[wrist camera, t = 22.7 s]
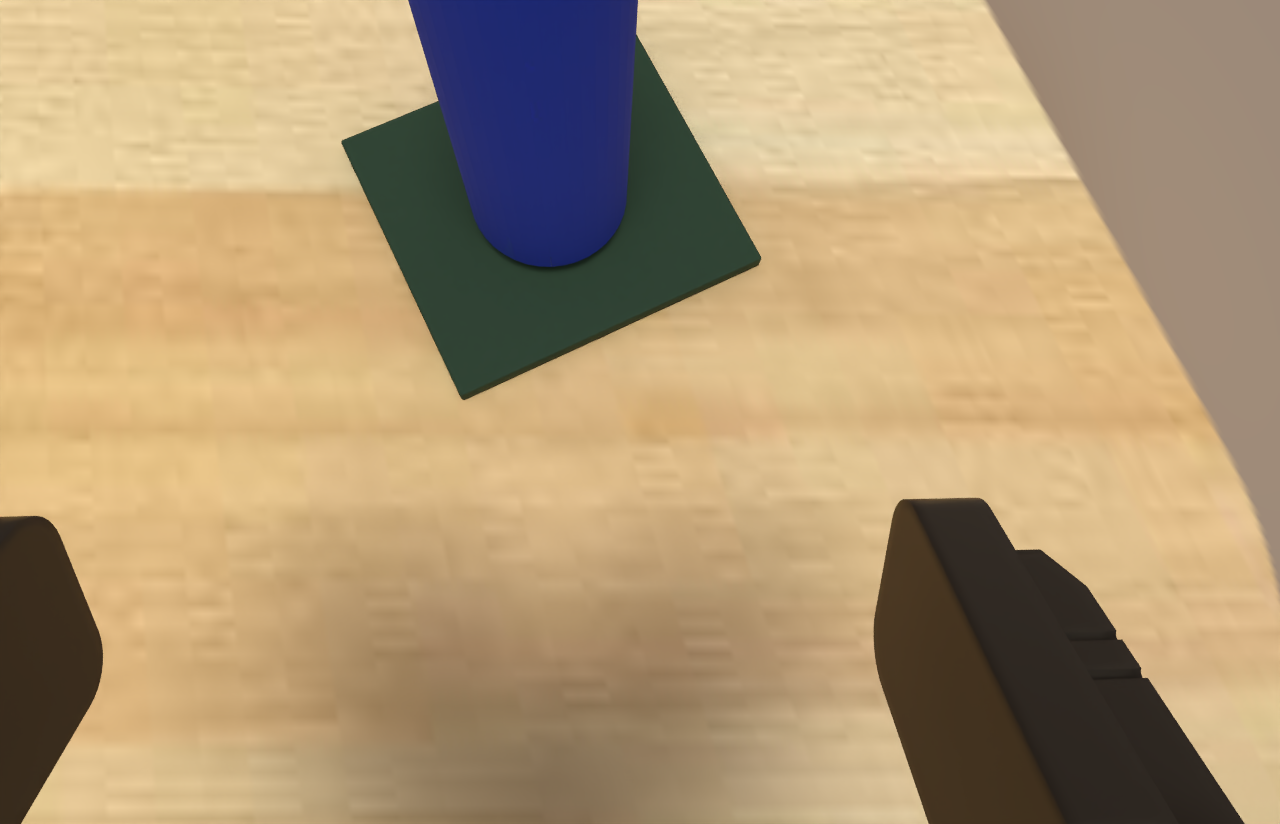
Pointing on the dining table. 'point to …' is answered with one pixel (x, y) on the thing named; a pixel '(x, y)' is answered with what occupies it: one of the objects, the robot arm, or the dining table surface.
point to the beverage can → (536, 116)
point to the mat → (548, 296)
